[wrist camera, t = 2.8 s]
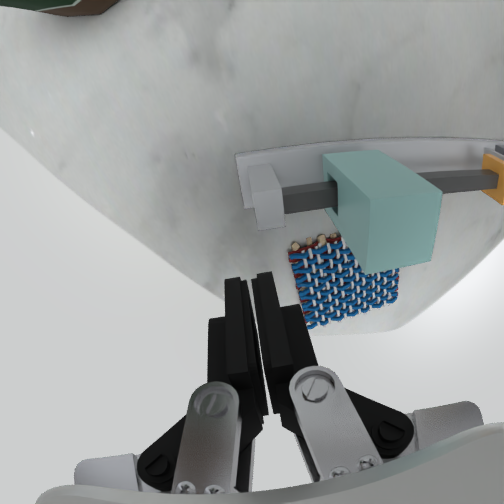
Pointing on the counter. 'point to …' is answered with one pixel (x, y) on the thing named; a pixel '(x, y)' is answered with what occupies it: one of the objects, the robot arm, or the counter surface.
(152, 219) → the counter surface
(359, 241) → the teal sliding block
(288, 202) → the teal block rod stand
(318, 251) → the woven mat
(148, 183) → the counter surface
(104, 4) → the beer bottle
